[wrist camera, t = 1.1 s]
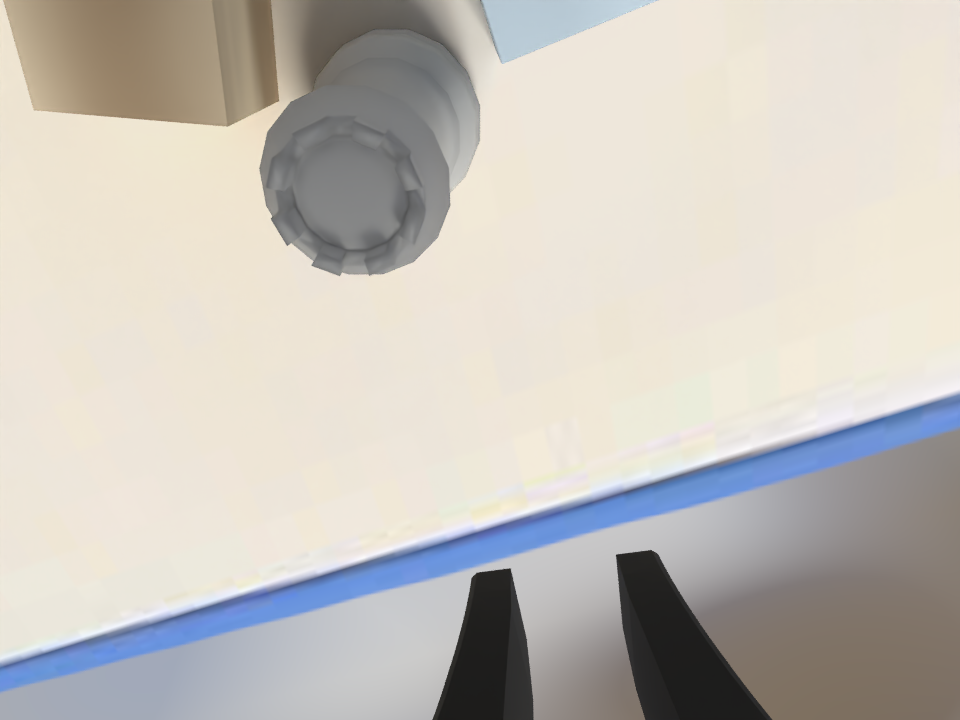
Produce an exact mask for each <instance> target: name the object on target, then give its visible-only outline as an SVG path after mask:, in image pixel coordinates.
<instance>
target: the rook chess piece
mask: <svg viewBox="0 0 960 720" xmlns="http://www.w3.org/2000/svg"><path fill="white" fill-rule="evenodd" d="M479 141H480V104H479V102H478V99H477V96H476V94H475V91H474V89H473V86H472V83H471V81H470V78H469V76H468V73H467V71H466V70H465V69H464V68H463V67H462V66H461V65H460V63H459V62H458V61H457V60H456V59H455V58H454V57H453V56H452V55H451V54H450V53H449V51H448V50H447V49H446V48H445V47H444V46H443V45H442V44H440V43H438V42H436V41H433V40H431V39H429V38H427V37H425V36H423V35H420V34H418V33H416V32H414V31H412V30H410V29H374V30H372V31H370V32H368V33H366V34H364V35H362V36H359V37H357V38H355V39H353V40H351V41H349V42H347V43H345V44H343V45H342V47H341V48H340V49H338V50H337V51H336V53H335V54H334V55H333V57H332V58H331V59H330V60H329V62H328V63H327V64H326V66H325V67H324V68H323V69H322V71H321V72H320V73H319V74H318V76H317V77H316V81H315V85H314V89H313V92H311V93H309V94H307V95H304V96H302V97H300V98H298V99H296V100H294V101H292V102H290V104H289V105H288V106H287V107H286V109H285V110H284V111H283V113H282V114H281V115H280V117H279V118H278V119H277V120H276V122H275V123H274V124H273V126H272V127H271V128H270V129H269V131H268V132H267V137H266V141H265V146H264V150H263V155H262V159H261V164H260V168H259V169H260V174H261V180H262V185H263V191H264V196H265V201H266V206H267V208H268V210H269V211H270V213H271V215H272V216H273V217H272V218H271V220H272V222H273V223H274V225H275V227H276V228H277V230H278V231H279V233H280V235H281V236H282V238H283V240H284V241H285V243H286V245H287V246H288V245H289V244H290V243H292V244H293V245H294V246H296V247H297V248H298V249H299V250H301V251H302V252H303V253H304V254H305V255H307V256H308V257H309V258H310V259H312V260H313V261H314V262H313V264H312V265H311V266H314V267H317V268H319V269H322V270H325V271H328V272H330V273H333V274H336V275H339V276H340V275H341V273H342V272H343V273H346V274H369V276H370V275H372V274H385V273H387V272H390V271H392V270H395V269H397V268H399V267H402V266H404V265H407V264H409V263H412V262H414V261H415V260H416V259H417V258H418V257H419V256H420V255H421V254H422V253H423V252H424V251H425V250H426V249H427V248H428V247H429V246H430V245H431V244H432V243H433V242H434V241H435V240H436V239H437V238H438V235H439V233H440V230H441V228H442V225H443V222H444V220H445V217H446V215H447V212H448V210H449V207H450V192H451V191H452V190H453V189H454V188H455V187H456V186H457V185H458V184H459V183H460V182H461V181H462V180H463V179H464V178H465V177H466V174H467V172H468V169H469V167H470V164H471V161H472V159H473V156H474V154H475V151H476V149H477V146H478V144H479Z"/></svg>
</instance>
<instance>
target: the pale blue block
mask: <svg viewBox="0 0 960 720" xmlns="http://www.w3.org/2000/svg"><path fill="white" fill-rule="evenodd" d="M480 1H481V4H482V7H483V11H484V14H485V17H486V20H487V23H488V26H489V29H490V33H491V36H492V39H493V42H494V45H495V48H496V51H497V54H498V56H499V58H500V60H501V63H502V64H504V63H506V62H509V61H511V60H513V59H516V58H518V57H521V56H523V55H526V54H528V53H531V52H533V51H535V50H538V49H540V48H543V47H545V46H548V45H550V44H553V43H555V42H557V41H560V40H562V39H565V38H567V37H570V36H572V35H574V34H577V33H579V32H582V31H584V30H587V29H589V28H592V27H594V26H596V25H599V24H601V23H604V22H606V21H609V20H611V19H614V18H616V17H618V16H621V15H623V14H626V13H628V12H631V11H633V10H635V9H638V8H640V7H643V6H645V5H648V4H650V3H653V2H655V1H657V0H480Z"/></svg>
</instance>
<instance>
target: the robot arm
mask: <svg viewBox="0 0 960 720" xmlns="http://www.w3.org/2000/svg"><path fill="white" fill-rule="evenodd" d="M616 559H617V570H618V581H619V591H620V602H621V613H622V624H623V631H624V635H625V640H626V645H627V650H628V654H629V659H630V663H631V667H632V673H633V677H634V682H635V686H636V690H637V693H638V697H639V700H640V703H641V707H642V710H643V713H644V716H645V720H772V719H771V718H770V716H769V715H768V714H767V713H766V712H765V710H764V709H763V708H762V706H761V705H760V704H759V703H758V702H757V700H756V699H755V698H754V697H753V695H752V694H751V693H750V691H749V690H748V689H747V687H746V686H745V685H744V684H743V682H742V681H741V680H740V678H739V677H738V676H737V675H736V673H735V672H734V671H733V669H732V668H731V667H730V665H729V664H728V662H727V661H726V659H725V658H724V657H723V656H722V654H721V653H720V651H719V650H718V649H717V647H716V646H715V645H714V643H713V642H712V640H711V639H710V638H709V636H708V635H707V633H706V632H705V630H704V629H703V628H702V626H701V625H700V623H699V622H698V620H697V619H696V617H695V616H694V614H693V613H692V611H691V610H690V608H689V607H688V605H687V604H686V602H685V601H684V599H683V597H682V596H681V594H680V592H679V591H678V589H677V588H676V586H675V584H674V583H673V581H672V579H671V578H670V576H669V574H668V572H667V570H666V569H665V567H664V565H663V563H662V561H661V559H660V557H659V555H658V554H657V553H655V552H654V551H652V550H648V551H641V552H633V553H625V554H618V555H616ZM433 720H533V695H532V686H531V676H530V666H529V657H528V647H527V639H526V634H525V630H524V626H523V621H522V617H521V612H520V608H519V604H518V600H517V595H516V591H515V586H514V582H513V577H512V573H511V569H503V570H495V571H487V572H479V573H476V574H475V575H474V576H473V577H472V579H471V586H470V592H469V597H468V602H467V607H466V611H465V616H464V620H463V624H462V628H461V631H460V635H459V639H458V643H457V646H456V650H455V654H454V656H453V660H452V663H451V666H450V669H449V672H448V675H447V679H446V682H445V685H444V688H443V691H442V694H441V697H440V700H439V703H438V706H437V709H436V712H435V715H434V717H433Z"/></svg>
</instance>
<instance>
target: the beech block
mask: <svg viewBox="0 0 960 720" xmlns="http://www.w3.org/2000/svg"><path fill="white" fill-rule="evenodd" d="M3 1H4V5H5V8H6V12H7V15H8V19H9V23H10V26H11V30H12V33H13V37H14V41H15V44H16V48H17V51H18V55H19V59H20V62H21V66H22V69H23V73H24V77H25V80H26V84H27V87H28V91H29V95H30V98H31V102H32V105H33V109H34V110H37V111H49V112H61V113H73V114H85V115H97V116H109V117H121V118H132V119H144V120H156V121H168V122H180V123H192V124H204V125H216V126H230V125H232V124H234V123H236V122H238V121H240V120H242V119H244V118H246V117H248V116H250V115H252V114H254V113H256V112H258V111H260V110H262V109H264V108H266V107H268V106H270V105H272V104H274V103H276V102H278V101H279V95H278V83H277V71H276V59H275V46H274V34H273V22H272V10H271V0H3Z"/></svg>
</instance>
